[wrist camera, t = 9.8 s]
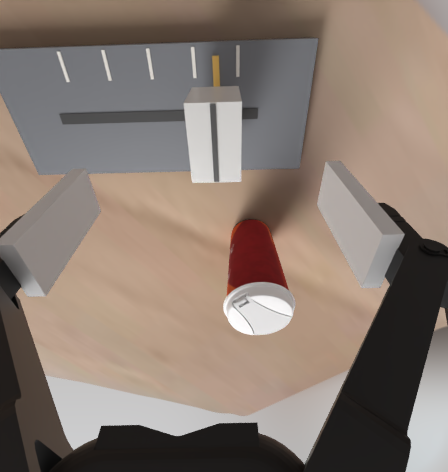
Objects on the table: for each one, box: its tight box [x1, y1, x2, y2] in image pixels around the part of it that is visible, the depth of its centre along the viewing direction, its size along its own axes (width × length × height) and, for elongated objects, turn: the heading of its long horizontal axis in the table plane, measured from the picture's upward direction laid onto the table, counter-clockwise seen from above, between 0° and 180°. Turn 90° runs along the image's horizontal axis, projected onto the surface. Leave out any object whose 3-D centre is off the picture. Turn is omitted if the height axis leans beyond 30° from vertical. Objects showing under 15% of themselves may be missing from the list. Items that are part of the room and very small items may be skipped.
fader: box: [183, 86, 242, 183], centre depth 24 cm, size 4×6×9 cm, turn 1°
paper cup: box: [223, 219, 295, 335], centre depth 34 cm, size 8×8×14 cm
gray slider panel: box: [0, 38, 318, 175], centre depth 29 cm, size 30×12×2 cm, turn 92°
